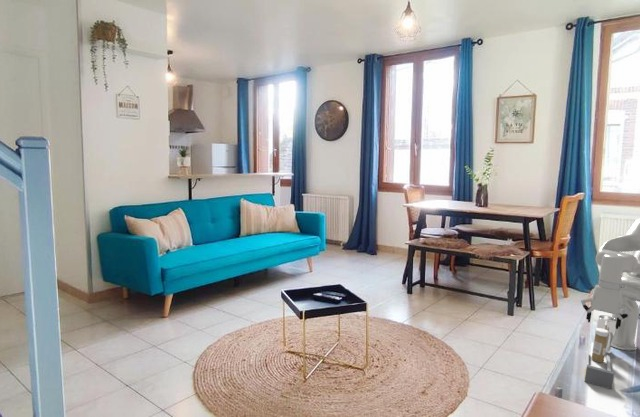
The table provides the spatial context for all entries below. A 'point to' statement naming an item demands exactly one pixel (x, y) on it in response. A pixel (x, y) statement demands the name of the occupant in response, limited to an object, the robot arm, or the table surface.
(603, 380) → the guide channel
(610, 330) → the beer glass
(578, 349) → the table surface
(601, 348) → the sprinkles bottle
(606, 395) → the table surface
